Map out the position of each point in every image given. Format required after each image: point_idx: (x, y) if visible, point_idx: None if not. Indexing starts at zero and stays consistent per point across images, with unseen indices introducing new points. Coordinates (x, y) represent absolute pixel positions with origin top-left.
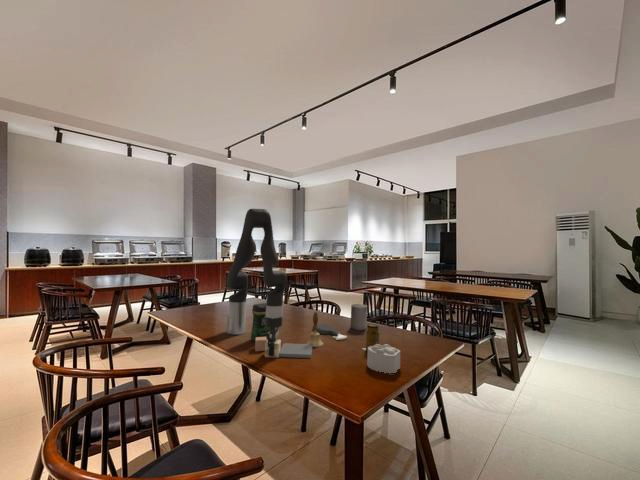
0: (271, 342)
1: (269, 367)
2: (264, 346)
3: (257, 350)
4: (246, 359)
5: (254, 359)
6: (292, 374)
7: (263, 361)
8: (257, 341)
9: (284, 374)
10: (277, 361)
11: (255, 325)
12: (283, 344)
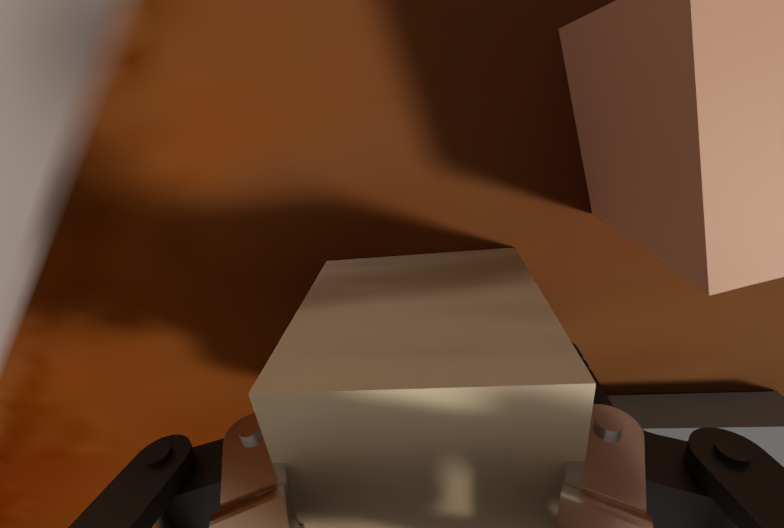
0: (347, 485)
1: (84, 373)
2: (621, 200)
3: (569, 67)
4: (148, 25)
5: (201, 154)
6: (69, 524)
7: (191, 284)
8: (671, 36)
9: (36, 486)
10: (251, 408)
11: None
12: (752, 431)
